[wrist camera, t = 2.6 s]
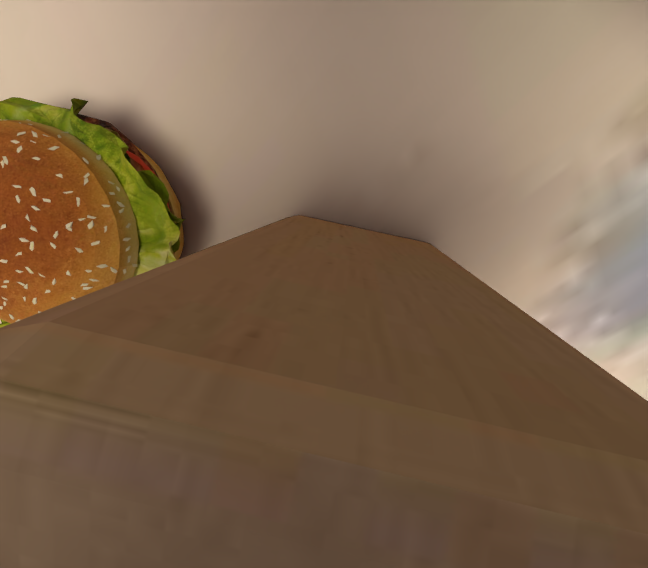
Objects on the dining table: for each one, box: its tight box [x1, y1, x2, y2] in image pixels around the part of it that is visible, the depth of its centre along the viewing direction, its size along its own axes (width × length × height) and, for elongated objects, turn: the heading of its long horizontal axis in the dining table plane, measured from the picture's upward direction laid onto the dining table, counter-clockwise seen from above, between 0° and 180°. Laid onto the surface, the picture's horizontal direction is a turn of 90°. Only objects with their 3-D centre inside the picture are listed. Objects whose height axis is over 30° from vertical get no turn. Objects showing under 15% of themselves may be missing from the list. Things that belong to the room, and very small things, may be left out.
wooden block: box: [0, 215, 648, 568], centre depth 14 cm, size 10×10×20 cm
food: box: [0, 97, 185, 328], centre depth 20 cm, size 14×14×8 cm
